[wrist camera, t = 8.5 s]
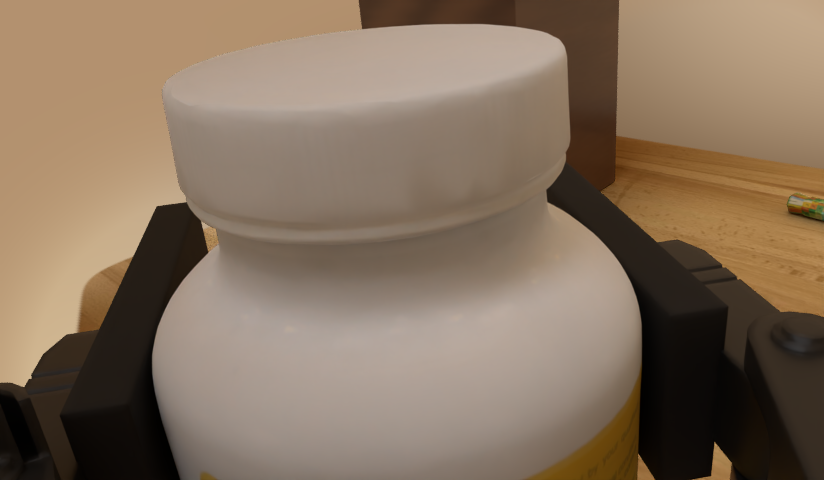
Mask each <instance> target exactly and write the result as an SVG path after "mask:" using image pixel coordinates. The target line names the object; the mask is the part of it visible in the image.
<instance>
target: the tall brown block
mask: <svg viewBox="0 0 824 480" xmlns="http://www.w3.org/2000/svg"><path fill="white" fill-rule="evenodd" d="M359 7H360V15H361V22H362V23H361V24H362V29H370V28H382V27H395V26H411V25H433V24H488V25H501V26H512V27H520V28H526V29H532V30H537V31H542V32H545V33H548V34H550V35H552V36H553V37H556V38H558V39H559V40H560V41H561V42H562V44H563V45H564V47H565V50H566V54H567V68H568V97H569V118H570V144H569V147H568V149H567V151H566V152H565V153H566V162H567V163H568V164H570V165H571V166H572V167H573V168H574V169H575V170H576V171H577V172H578V173H580V174H581V175H582V176H583V177H584V178H585V179H586V180H587V181H589V182H590V183H591V184H592V185H593V186H594V187H595V188H596V189H598V190H599V191H600V190H602V189H603V188H605V187H606V186H608V185H610V184H611V183H613V182H614V181H615V155H616V108H617V64H618V20H619V0H359Z"/></svg>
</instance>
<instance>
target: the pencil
mask: <svg viewBox="0 0 824 480" xmlns="http://www.w3.org/2000/svg"><path fill="white" fill-rule="evenodd" d="M787 207H788V211H789V212H791V213H798V214H804V215H805V216H808V217H812V218H816V219H820V220H824V199H820V198H816V197H808V196H806V195H803V194H801V193H795V194H793V195H791V196H790V197H789V200H788V202H787Z"/></svg>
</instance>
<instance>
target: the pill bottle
mask: <svg viewBox="0 0 824 480" xmlns="http://www.w3.org/2000/svg"><path fill="white" fill-rule="evenodd" d="M162 99H163V105H164V110H165V114H166V119H167V124H168V129H169V134H170V139H171V145H172V150H173V156H174V161H175V167H176V172H177V178H178V183H179V186H180V189H181V190H182V192H183V193H184V194H185V196H186V201H187V204H188V206H189V207H190V209H191V210H192V212H193V213H194V214H195V215H196V216H197V217H198V218H199V219H200V220H201V221H202V222H204V223H205V224H207V225H209V226H211V227H213V228H215V229H216V232H217V236H218V241H219V244H218V245H216V246H215V247H214V248H213V249H212V250H211V251H210V252H209V253H208V254H207V255H206V256H205V257H204V258H203V259H202V260H201V261H200V262H199V263H198V264H197V265H196V266H195V267H194V268H193V270H192V271H191V272H190V273H189V274H188V275H187V276H186V277H185V279H184V280H183V281H182V283H181V284H180V286H179V287H178V288H177V290H176V291H175V293H174V294H173V296H172V298H171V299H170V301H169V303H168V305H167V307H166V309H165V311H164V314H163V316H162V318H161V321H160V323H159V325H158V328H157V333H156V337H155V341H154V347H153V354H152V376H153V383H154V390H155V395H156V399H157V403H158V407H159V411H160V416H161V420H162V423H163V427H164V430H165V433H166V436H167V439H168V442H169V445H170V449H171V452H172V455H173V458H174V461H175V464H176V468H177V471H178V474H179V477H180V480H637V471H638V444H639V415H640V389H641V372H642V322H641V316H640V310H639V305H638V302H637V298H636V295H635V292H634V289H633V287H632V284H631V282H630V280H629V278H628V276H627V274H626V273H625V271H624V269H623V268H622V266H621V264H620V263H619V261H618V260H617V259H616V257H615V256H614V254H613V253H612V252H611V251H610V250H609V249H608V248H607V247H606V246H605V244H604V243H603V242H602V241H601V240H600V239H599V238H598V237H597V236H596V235H595V234H594V233H592V232H591V231H590V230H589V229H587V228H586V227H585V226H584V225H582V224H581V223H580V222H578V221H577V220H576V219H574V218H573V217H572V216H570V215H569V214H567V213H566V212H564V211H563V210H561V209H559V208H557V207H555V206H554V205H552V204H550V203H548V202H547V193H546V189H547V188H549V187H550V186H551V185H552V184H553V183H554V181H555V180H556V179H557V177H558V176H559V175H560V173H561V172H562V170H563V167H564V164H565V161H566V153H565V152H566V151H567V149H568V147H569V144H570V118H569V97H568V68H567V54H566V50H565V47H564V45H563V44H562V42H561V41H560V40H559V39H558V38H556V37H553V36H552V35H550V34H548V33H545V32H542V31H537V30H532V29H526V28H520V27H512V26H501V25H488V24H433V25H411V26H395V27H382V28H370V29H360V30H351V31H343V32H334V33H326V34H319V35H312V36H306V37H301V38H294V39H289V40H283V41H278V42H273V43H268V44H263V45H258V46H254V47H250V48H245V49H241V50H238V51H234V52H229V53H226V54H222V55H219V56H216V57H213V58H210V59H207V60H204V61H202V62H199V63H196V64H193V65H191V66H189V67H187V68H185V69H183V70H181V71H179V72H177V73H176V74H174V75H173V76H171V77H170V78H169V79H168V80H167V81H166V83H165V85H164V87H163V89H162Z"/></svg>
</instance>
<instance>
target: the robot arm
mask: <svg viewBox="0 0 824 480" xmlns="http://www.w3.org/2000/svg"><path fill="white" fill-rule="evenodd" d="M546 193H547V202H548V203H550V204H552V205H554V206H555V207H557V208H559V209H561V210H563V211H564V212H566V213H567V214H569V215H570V216H572V217H573V218H574V219H576V220H577V221H578V222H580V223H581V224H582V225H584V226H585V227H586V228H587V229H589V230H590V231H591V232H592V233H594V234H595V235H596V236H597V237H598V238H599V239H600V240H601V241H602V242H603V243H604V244H605V246H606V247H607V248H608V249H609V250H610V251H611V252H612V253H613V254H614V256H615V257H616V259H617V260H618V261H619V263H620V264H621V266H622V268H623V269H624V271H625V273H626V274H627V276H628V278H629V280H630V282H631V284H632V287H633V289H634V292H635V295H636V298H637V302H638V305H639V310H640V316H641V322H642V372H641V389H640V415H639V444H638V454H639V455H640V457H641V458H642V460H643V461H644V463H645V464H646V466H647V467H648V469H649V471H650V472H651V474H652V475H653V477H654V478H655V480H692V479H697V478H703V477H708V476H711V470H712V461H713V451H714V442H715V443H716V444H717V445H718V446H719V448H720V449H721V450H722V451H723V453H724V454H725V455H726V456H727V457H728V459H729V460H730V461H731V462H732V466H731V474H730V480H824V317H821V316H817V315H814V314H809V313H799V312H780V311H779V310H778V309H776V308H775V307H774V306H773V305H771V304H770V303H769V302H768V301H766V300H765V299H764V298H763V297H761V296H760V295H759V294H758V293H757V292H755V291H754V290H753V289H752V288H750V287H749V286H748V285H747V284H745V283H744V282H743V281H742V280H737V276H735V275H734V274H733V273H732V272H731V271H729V270H728V269H727V268H726V267H725V268H723V267H722V264H721V263H719V262H718V261H717V260H716V259H714V258H713V257H712V256H711V255H710V254H708V253H707V252H706V251H705V250H702V249H700V248H697V247H695V246H692V245H690V244H687V243H685V242H682V241H680V240H671V241H665V242H658V243H657V242H656V241H655V240H654V239H652V238H651V237H650V236H649V235H648V234H647V233H646V232H645V231H644V230H642V229H641V228H640V227H639V226H638V225H637V224H636V223H635V222H633V221H632V220H631V219H630V218H629V217H628V216H627V215H626V214H624V213H623V212H622V211H621V210H620V209H619V208H618V207H617V206H615V205H614V204H613V203H612V202H611V201H610V200H609V199H608V198H607V197H605V196H604V195H603V194H602V193H601V192H600V191H599V190H598V189H596V188H595V187H594V186H593V185H592V184H591V183H590V182H589V181H587V180H586V179H585V178H584V177H583V176H582V175H581V174H580V173H578V172H577V171H576V170H575V169H574V168H573V167H572V166H571V165H570V164H568V163H567V162H566V161H565V164H564V167H563V170H562V172H561V173H560V175H559V176H558V177H557V179H556V180H555V181H554V183H553V184H552V185H551V186H550V187H549V188H547V189H546ZM207 254H208V250H207V245H206V241H205V237H204V232H203V228H202V224H201V220H200V219H199V218H198V217H197V216H196V215H195V214H194V213H193V212H192V210H191V209H190V207H189V206H188V204H187V202H186V203H178V204H171V205H163V206H157V207H156V209H155V211H154V213H153V216H152V218H151V220H150V222H149V224H148V227H147V228H146V231H145V233H144V235H143V237H142V239H141V242H140V243H139V246H138V248H137V250H136V252H135V254H134V256H133V258H132V261H131V263H130V265H129V267H128V269H127V271H126V273H125V276H124V278H123V280H122V282H121V284H120V286H119V288H118V291H117V293H116V295H115V297H114V299H113V301H112V303H111V306H110V308H109V310H108V312H107V314H106V316H105V318H104V321H103V323H102V325H101V327H100V329H99V330H94V331H87V332H81V333H74V334H68V335H66V336H64V337H63V338H62V339H61V340H60V341H58V342H57V343H56V344H55V345H54V346H53V347H51V348H50V349H49V350H48V351H47V352H45V353H44V354H43V356H42V357H41V359H40V361H39V362H38V364H37V366H36V368H35V369H34V371H33V373H32V375H31V376H32V379H29V380H28V382H27V383H26V385H25V387H21V386H18V385H16V384H13V383H0V480H180V477H179V474H178V471H177V468H176V464H175V461H174V458H173V455H172V452H171V449H170V445H169V442H168V439H167V436H166V433H165V430H164V427H163V423H162V420H161V416H160V411H159V407H158V403H157V399H156V395H155V390H154V383H153V376H152V354H153V347H154V341H155V337H156V333H157V328H158V325H159V323H160V321H161V318H162V316H163V314H164V311H165V309H166V307H167V305H168V303H169V301H170V299H171V298H172V296H173V294H174V293H175V291H176V290H177V288H178V287H179V286H180V284H181V283H182V281H183V280H184V279H185V277H186V276H187V275H188V274H189V273H190V272H191V271H192V270H193V268H194V267H195V266H196V265H197V264H198V263H199V262H200V261H201V260H202V259H203V258H204V257H205V256H206V255H207Z"/></svg>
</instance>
